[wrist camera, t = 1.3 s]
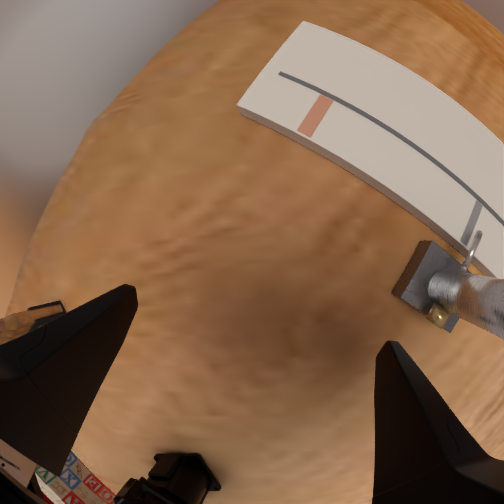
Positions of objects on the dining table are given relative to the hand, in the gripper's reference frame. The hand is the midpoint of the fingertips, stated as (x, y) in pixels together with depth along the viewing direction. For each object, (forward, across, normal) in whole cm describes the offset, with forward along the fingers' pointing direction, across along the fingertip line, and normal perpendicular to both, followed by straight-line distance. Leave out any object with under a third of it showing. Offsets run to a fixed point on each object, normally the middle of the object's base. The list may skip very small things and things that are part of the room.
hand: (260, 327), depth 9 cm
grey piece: (+12, -15, +3) cm, 19 cm away
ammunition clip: (+8, +26, +20) cm, 34 cm away
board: (+18, -10, -6) cm, 22 cm away
